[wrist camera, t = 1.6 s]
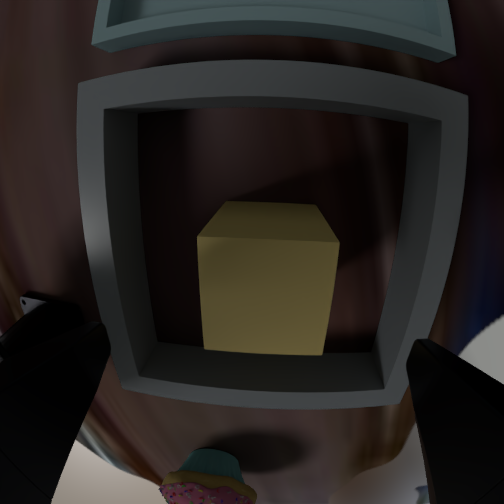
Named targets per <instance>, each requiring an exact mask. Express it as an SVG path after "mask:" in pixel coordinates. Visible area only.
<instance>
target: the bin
mask: <svg viewBox="0 0 504 504" xmlns="http://www.w3.org/2000/svg"><path fill="white" fill-rule="evenodd" d="M223 107H264V108H290V109H306V110H319V111H329V112H339V113H348V114H356V115H363V116H370V117H376V118H383V119H388V120H394V121H400V122H405V123H408V147H407V162H406V174H405V185H404V194H403V203H402V211H401V218H400V225H399V232H398V238H397V244H396V250H395V255H394V260H393V266H392V271H391V276H390V280H389V285H388V289H387V294H386V298H385V302H384V306H383V310H382V314H381V318H380V322H379V326H378V330H377V333H376V337H375V340H374V344H373V347H372V351H371V352H363V353H322V355H283V354H260V353H244V352H230V351H218V350H207V349H204V347H199V346H190V345H181V344H173V343H165V342H158V341H157V336H156V330H155V324H154V319H153V312H152V306H151V300H150V293H149V286H148V278H147V271H146V262H145V254H144V244H143V234H142V222H141V209H140V194H139V173H138V114H140V113H149V112H158V111H169V110H181V109H197V108H223ZM467 146H468V96H467V95H464V94H461V93H459V92H456V91H453V90H449V89H446V88H443V87H440V86H436V85H433V84H429V83H426V82H422V81H418V80H415V79H411V78H406V77H402V76H398V75H393V74H389V73H384V72H379V71H373V70H368V69H362V68H356V67H349V66H342V65H334V64H325V63H315V62H303V61H286V60H221V61H204V62H192V63H182V64H173V65H165V66H158V67H151V68H145V69H139V70H134V71H128V72H123V73H118V74H114V75H109V76H105V77H100V78H96V79H92V80H88V81H85V82H81V83H78V97H77V162H78V180H79V192H80V203H81V212H82V221H83V229H84V236H85V242H86V249H87V255H88V261H89V266H90V271H91V277H92V282H93V286H94V291H95V296H96V300H97V304H98V308H99V312H100V316H101V320H102V323H103V324H104V325H105V326H106V330H107V333H108V337H109V341H110V344H111V356H112V359H113V362H114V365H115V368H116V371H117V374H118V377H119V380H120V383H121V386H122V388H123V389H126V390H130V391H135V392H140V393H145V394H150V395H155V396H160V397H166V398H172V399H178V400H185V401H192V402H199V403H207V404H216V405H225V406H236V407H250V408H267V409H341V408H359V407H371V406H382V405H391V404H399V403H400V401H401V399H402V397H403V395H404V393H405V391H406V389H407V386H408V384H409V380H408V376H407V371H406V361H407V358H408V356H409V353H410V350H411V348H412V345H413V343H414V341H415V340H416V339H423V338H428V335H429V333H430V330H431V327H432V324H433V321H434V318H435V315H436V312H437V309H438V306H439V303H440V299H441V296H442V293H443V289H444V286H445V282H446V278H447V274H448V271H449V267H450V262H451V258H452V254H453V249H454V245H455V240H456V235H457V230H458V224H459V218H460V212H461V206H462V199H463V191H464V183H465V173H466V162H467Z"/></svg>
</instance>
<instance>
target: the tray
mask: <svg viewBox="0 0 504 504" xmlns="http://www.w3.org/2000/svg"><path fill="white" fill-rule="evenodd" d="M228 35H286V36H302V37H314V38H324V39H332V40H340V41H347V42H353V43H359V44H365V45H370V46H375V47H380V48H385V49H389V50H394V51H398V52H402V53H406V54H410V55H413V56H417V57H420V58H424V59H427V60H431V61H434V62H437V63H439V62H441V61H444V60H446V59H449V58H451V57H454V56H456V50H455V41H454V34H453V28H452V22H451V16H450V11H449V6H448V1H447V0H99V2H98V7H97V12H96V18H95V24H94V30H93V37H92V45H93V46H95V47H98V48H100V49H102V50H105V51H107V52H109V53H111V52H116V51H120V50H124V49H129V48H133V47H138V46H143V45H149V44H154V43H160V42H167V41H174V40H181V39H190V38H200V37H212V36H228Z"/></svg>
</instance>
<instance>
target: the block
mask: <svg viewBox="0 0 504 504" xmlns="http://www.w3.org/2000/svg"><path fill="white" fill-rule="evenodd" d="M339 245H340V242H339V241H338V239H337V237H336V236H335V234H334V233H333V231H332V229H331V228H330V226H329V225H328V223H327V222H326V220H325V218H324V217H323V215H322V214H321V212H320V211H319V209H318V208H317V206H316V205H313V204H295V203H273V202H245V201H226V202H225V203H224V204H223V205H222V207H221V208H220V209H219V210H218V211H217V213H216V214H215V215H214V216H213V217H212V219H211V220H210V221H209V222H208V224H207V225H206V226H205V227H204V228H203V230H202V231H201V232H200V233H199V235H198V236H197V249H198V269H199V286H200V302H201V316H202V328H203V340H204V349H207V350H218V351H230V352H244V353H260V354H283V355H322V353H323V348H324V342H325V337H326V332H327V326H328V320H329V315H330V309H331V302H332V296H333V289H334V283H335V276H336V268H337V261H338V253H339Z"/></svg>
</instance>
